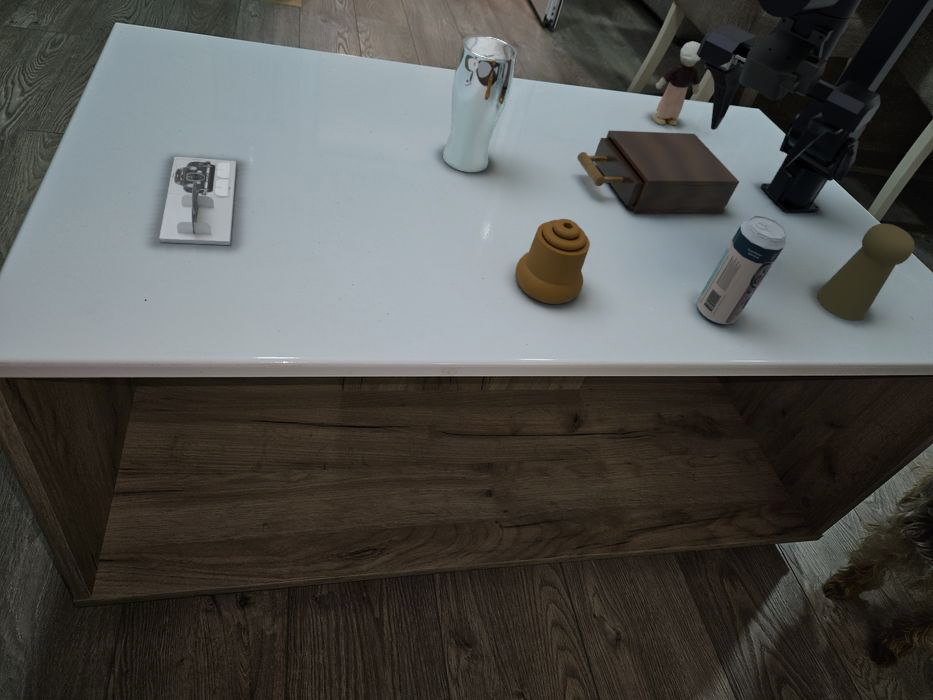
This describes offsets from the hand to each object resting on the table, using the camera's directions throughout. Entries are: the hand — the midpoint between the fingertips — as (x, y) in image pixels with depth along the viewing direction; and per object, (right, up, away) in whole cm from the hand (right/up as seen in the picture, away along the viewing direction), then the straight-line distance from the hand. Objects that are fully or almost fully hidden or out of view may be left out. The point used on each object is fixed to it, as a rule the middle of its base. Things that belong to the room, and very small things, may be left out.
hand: (747, 147), depth 79 cm
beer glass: (-33, +2, +12) cm, 35 cm away
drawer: (-9, 0, +15) cm, 18 cm away
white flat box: (-61, -7, -5) cm, 62 cm away
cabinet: (-6, -1, +17) cm, 18 cm away
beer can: (-4, -19, -1) cm, 20 cm away
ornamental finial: (-24, -16, -3) cm, 29 cm away
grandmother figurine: (-1, +14, +33) cm, 36 cm away
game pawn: (+14, -18, +6) cm, 23 cm away
